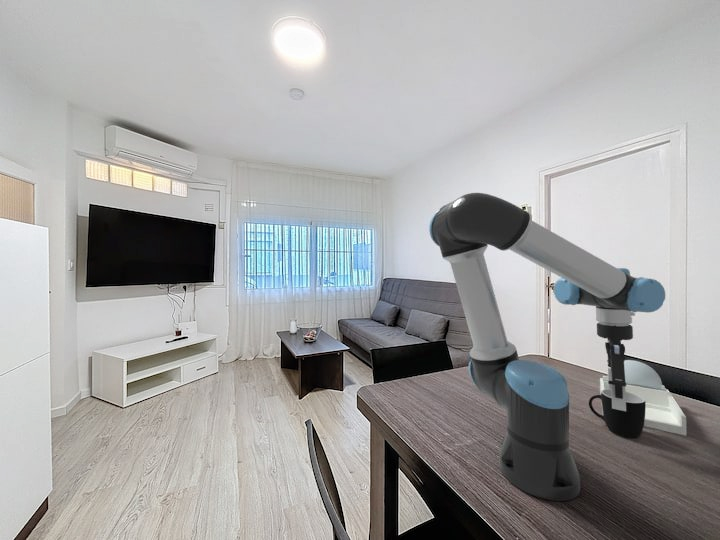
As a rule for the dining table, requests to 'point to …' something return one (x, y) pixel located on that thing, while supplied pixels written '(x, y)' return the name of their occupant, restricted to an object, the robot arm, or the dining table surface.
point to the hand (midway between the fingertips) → (616, 399)
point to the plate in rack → (641, 375)
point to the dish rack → (657, 408)
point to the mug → (622, 414)
